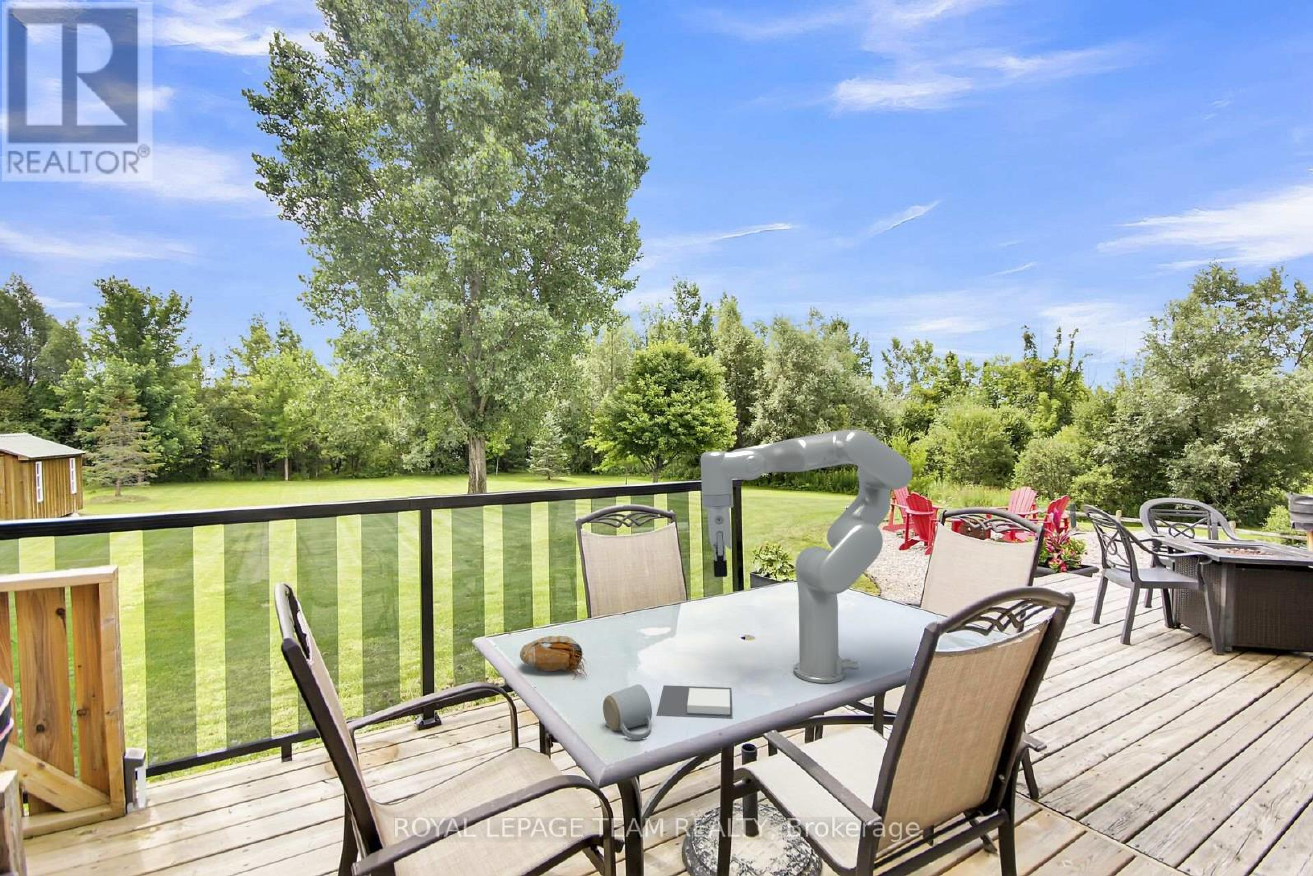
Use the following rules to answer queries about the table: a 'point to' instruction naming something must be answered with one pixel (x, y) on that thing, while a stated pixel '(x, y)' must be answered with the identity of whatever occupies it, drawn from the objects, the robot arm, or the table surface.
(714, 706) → the tile
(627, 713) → the ceramic mug
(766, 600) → the table surface
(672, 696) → the mat
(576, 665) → the nautilus
